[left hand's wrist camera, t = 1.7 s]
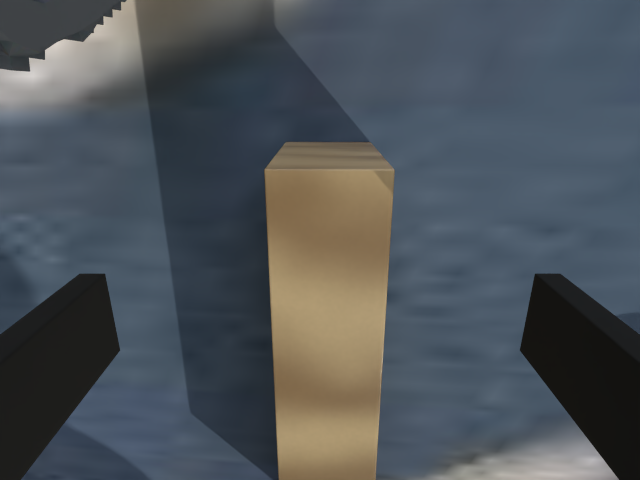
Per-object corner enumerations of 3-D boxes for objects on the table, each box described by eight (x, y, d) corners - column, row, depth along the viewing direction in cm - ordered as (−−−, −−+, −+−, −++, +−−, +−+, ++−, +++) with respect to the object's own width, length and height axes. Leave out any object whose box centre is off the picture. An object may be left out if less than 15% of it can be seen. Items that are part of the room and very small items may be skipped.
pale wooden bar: (285, 141, 22) (263, 169, 14) (370, 141, 22) (394, 169, 14) (295, 498, 31) (285, 632, 23) (355, 499, 30) (365, 633, 23)
